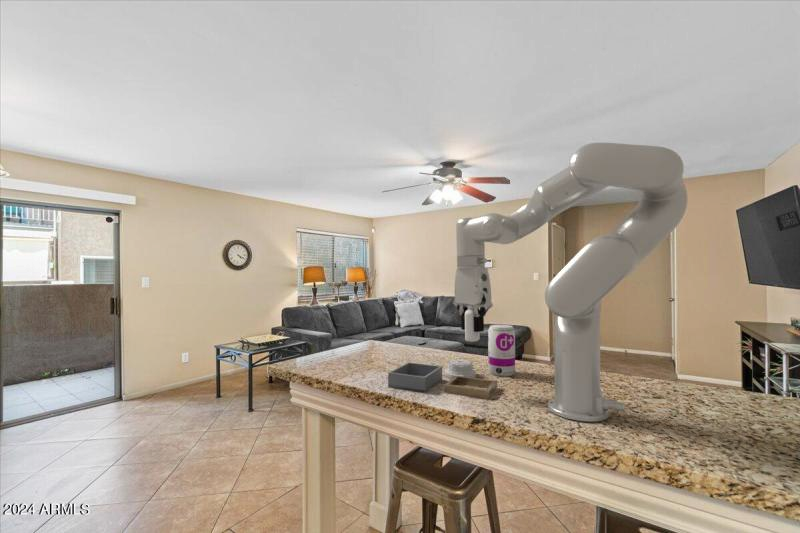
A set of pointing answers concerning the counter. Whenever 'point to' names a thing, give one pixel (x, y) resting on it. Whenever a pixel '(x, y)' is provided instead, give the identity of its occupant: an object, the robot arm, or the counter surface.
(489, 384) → the shallow brown tray
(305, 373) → the counter surface
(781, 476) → the counter surface
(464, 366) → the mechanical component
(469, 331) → the eye dropper bottle
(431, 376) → the bin
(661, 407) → the counter surface
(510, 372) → the supplement can
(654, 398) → the counter surface
